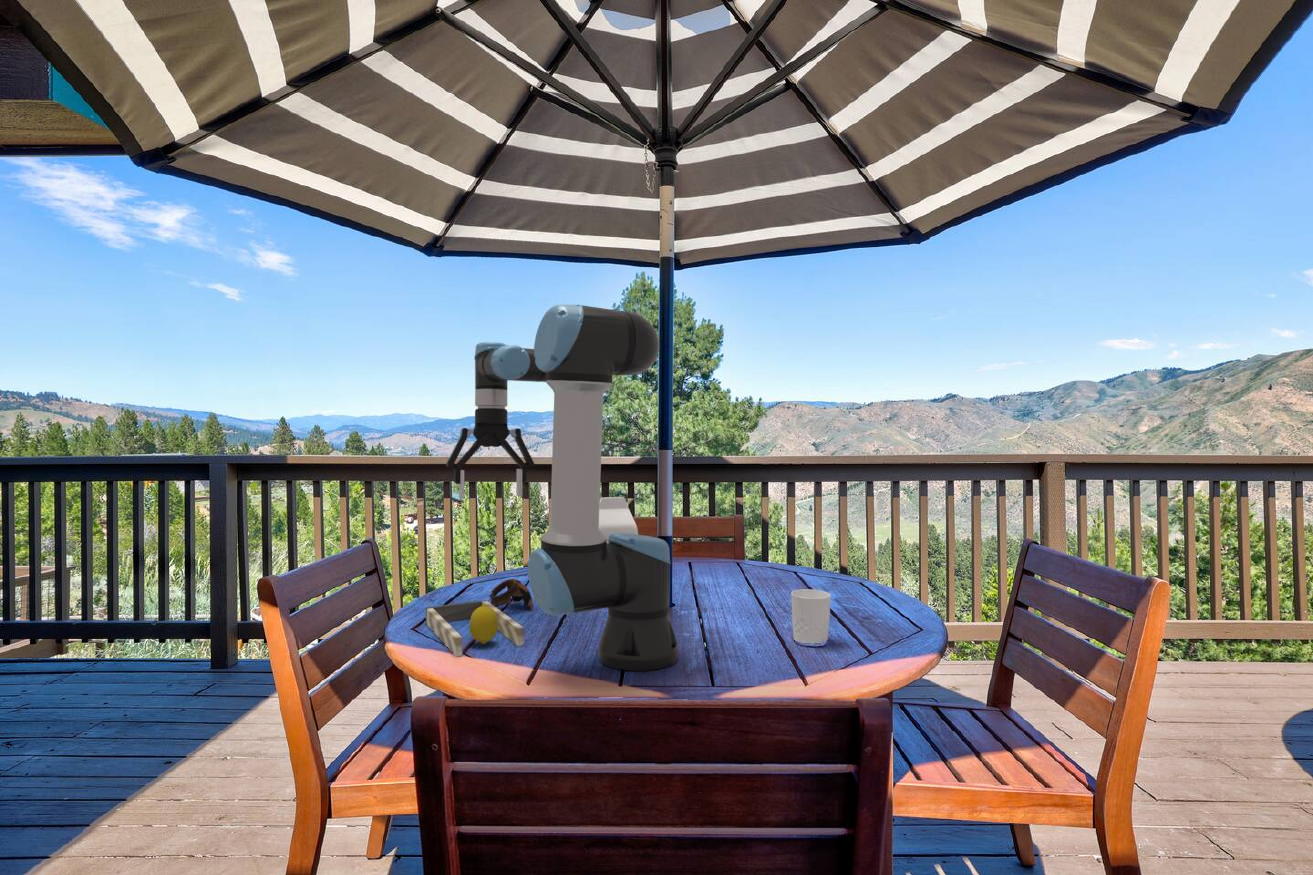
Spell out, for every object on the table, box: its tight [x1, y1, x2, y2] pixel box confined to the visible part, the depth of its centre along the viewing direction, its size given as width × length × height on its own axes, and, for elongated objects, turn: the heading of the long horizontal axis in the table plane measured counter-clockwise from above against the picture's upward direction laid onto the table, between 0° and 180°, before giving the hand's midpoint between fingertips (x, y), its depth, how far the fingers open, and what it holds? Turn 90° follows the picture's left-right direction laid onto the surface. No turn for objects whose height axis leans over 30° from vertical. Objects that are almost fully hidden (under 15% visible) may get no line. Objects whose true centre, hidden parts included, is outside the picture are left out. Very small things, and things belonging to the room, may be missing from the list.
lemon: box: [469, 605, 498, 645], centre depth 131 cm, size 6×6×8 cm
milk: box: [599, 496, 639, 543], centre depth 168 cm, size 12×12×26 cm
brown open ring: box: [488, 578, 535, 612], centre depth 158 cm, size 12×10×8 cm
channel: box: [425, 599, 525, 658], centre depth 138 cm, size 25×13×4 cm, turn 32°
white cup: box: [790, 588, 832, 644], centre depth 135 cm, size 8×8×10 cm
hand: (490, 497), depth 157 cm, fingers open, 13 cm apart
